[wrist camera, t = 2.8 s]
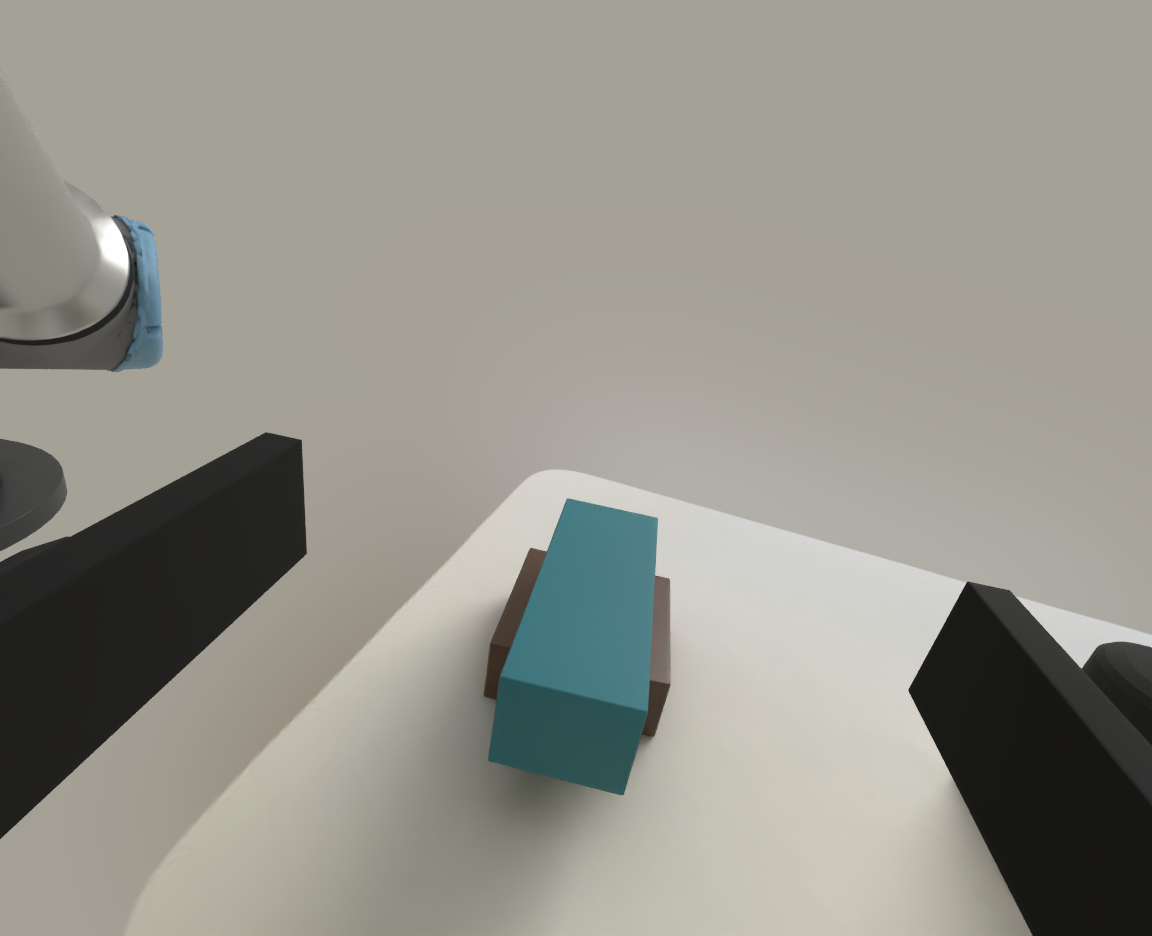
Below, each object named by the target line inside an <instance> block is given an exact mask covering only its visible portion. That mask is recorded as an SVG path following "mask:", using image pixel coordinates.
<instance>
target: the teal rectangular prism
mask: <svg viewBox="0 0 1152 936" xmlns="http://www.w3.org/2000/svg"><path fill="white" fill-rule="evenodd" d="M657 526H658V518H655V517H651V516H646V515H642V514H637V513H632V512H628V511H623V510H619V509H614V508H609V507H605V506H600V505H596V504H591V503H587V502H582V501H577V500H573V499H567V500H566V503H565V505H564V508H563V510H562V513H561V516H560V518H559V521H558V524H557V526H556V529H555V532H554V534H553V537H552V540H551V542H550V545H549V548H548V550H547V553H546V555H545V558H544V561H543V563H542V566H541V569H540V571H539V574H538V577H537V579H536V582H535V585H534V587H533V590H532V593H531V595H530V598H529V600H528V603H527V606H526V608H525V611H524V614H523V616H522V619H521V622H520V624H519V627H518V630H517V632H516V635H515V638H514V640H513V643H512V646H511V648H510V651H509V653H508V656H507V659H506V661H505V664H504V667H503V669H502V672H501V675H500V679H499V686H498V693H497V700H496V707H495V715H494V722H493V729H492V736H491V743H490V750H489V758H488V760H489V761H490V762H493V763H497V764H501V765H505V766H509V767H513V768H517V769H521V770H525V771H529V772H533V773H536V774H540V775H544V776H548V777H552V778H556V779H560V780H564V781H568V782H572V783H576V784H580V785H583V786H587V787H591V788H595V789H599V790H603V791H607V792H611V793H615V794H619V795H623V794H624V792H625V788H626V785H627V782H628V778H629V775H630V771H631V768H632V765H633V761H634V758H635V754H636V751H637V748H638V744H639V741H640V738H641V734H642V731H643V727H644V724H645V721H646V717H647V714H648V701H649V681H650V662H651V642H652V623H653V604H654V584H655V565H656V545H657Z"/></svg>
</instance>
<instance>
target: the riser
mask: <svg viewBox="0 0 1152 936" xmlns="http://www.w3.org/2000/svg"><path fill="white" fill-rule="evenodd" d="M546 553H547V552H546V551H542V550H537V549H533V548H530V550H529V552H528V554H527V557H526V559H525V561H524V564H523V566H522V569H521V571H520V573H519V576H518V578H517V581H516V583H515V585H514V588H513V590H512V592H511V595H510V597H509V600H508V602H507V604H506V607H505V609H504V612H503V614H502V616H501V619H500V621H499V623H498V626H497V628H496V631H495V633H494V635H493V638H492V640H491V643H490V649H489V657H488V665H487V673H486V681H485V689H484V696H487V697H492V698H496V699H497V693H498V686H499V679H500V675H501V672H502V669H503V667H504V664H505V661H506V659H507V656H508V653H509V651H510V648H511V646H512V643H513V640H514V638H515V635H516V632H517V630H518V627H519V624H520V622H521V619H522V616H523V614H524V611H525V608H526V606H527V603H528V600H529V598H530V595H531V593H532V590H533V587H534V585H535V582H536V579H537V577H538V574H539V571H540V569H541V566H542V563H543V561H544V558H545V555H546ZM669 688H670V579H668V578H664V577H659V576H655V584H654V604H653V623H652V642H651V662H650V681H649V701H648V714H647V717H646V721H645V724H644V727H643V731H642V734H645V735H649V736H655V733H656V730H657V727H658V723H659V720H660V717H661V714H662V710H663V707H664V704H665V701H666V698H667V694H668V691H669Z"/></svg>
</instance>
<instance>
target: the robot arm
mask: <svg viewBox="0 0 1152 936" xmlns="http://www.w3.org/2000/svg"><path fill="white" fill-rule="evenodd" d="M161 323H162V321H161V298H160V284H159V272H158V260H157V251H156V243H155V240H154V233H153V231H152V229H151V228H150V227H149V226H148V225H146V224H145V223H142V222H139V221H134V220H129V219H128V218H126V217H124V216H117V215H114V216H113V217H110V216H109V215H108V214H107V213H106V212H105V211H104V209H102V208H101V207H100V206H99V205H98V204H97V203H96V202H95V201H94V200H93V199H91V198H90V197H89V196H88V195H86V194H85V193H84V192H82V191H81V190H79V189H78V188H76V187H74V186H73V185H71V184H69V183H67V182H65V181H63V180H62V178H61V176H60V174H59V173H58V171H57V169H56V167H55V166H54V164H53V162H52V160H51V158H50V157H49V155H48V153H47V151H46V150H45V148H44V146H43V145H42V143H41V141H40V139H39V137H38V135H37V134H36V132H35V130H34V129H33V127H32V125H31V123H30V121H29V120H28V118H27V116H26V114H25V113H24V111H23V109H22V107H21V106H20V104H19V102H18V100H17V98H16V97H15V95H14V93H13V91H12V90H11V88H10V86H9V84H8V83H7V81H6V79H5V78H4V76H3V74H2V72H1V70H0V368H8V369H91V370H95V369H96V370H108V371H112V372H119V371H122V370H124V369H141V368H149V367H152V366H154V365H156V364H157V363H158V362H159V361H160V359H161V357H162V352H163V341H162V326H161ZM1 480H2V474H1V471H0V483H1ZM306 554H307V549H306V527H305V507H304V484H303V461H302V440H299V439H294V438H290V437H285V436H281V435H276V434H271V433H264V434H262V435H260V436H258V437H256V438H255V439H253V440H251V441H249V442H247V443H245V444H243V445H241V446H239V447H238V448H236V449H234V450H232V451H230V452H228V453H226V454H225V455H223V456H221V457H219V458H217V459H215V460H213V461H212V462H210V463H208V464H206V465H204V466H202V467H200V468H198V469H196V470H195V471H193V472H191V473H189V474H187V475H185V476H183V477H181V478H180V479H178V480H176V481H174V482H172V483H170V484H168V485H166V486H165V487H163V488H161V489H159V490H157V491H155V492H153V493H152V494H150V495H148V496H146V497H144V498H142V499H140V500H138V501H137V502H135V503H133V504H131V505H129V506H127V507H125V508H124V509H122V510H120V511H118V512H116V513H114V514H112V515H110V516H108V517H107V518H105V519H103V520H101V521H99V522H97V523H95V524H93V525H92V526H90V527H88V528H86V529H84V530H83V531H80V532H78V533H77V534H75V535H73V536H71V537H64V538H61V539H58V540H55V541H52V542H48V543H46V544H42V545H39V546H36V547H33V548H30V549H26V550H23V551H21V552H19V553H17V554H15V555H13V556H11V557H9V558H7V559H5V560H3V561H1V562H0V839H1V838H2V837H3V836H4V835H5V834H6V833H7V832H8V831H9V830H10V829H12V827H14V826H15V825H16V824H17V823H18V822H19V821H20V820H21V819H22V818H23V817H24V816H25V815H27V814H28V813H29V812H30V811H31V810H32V809H33V808H34V807H35V806H36V805H37V804H38V803H39V802H41V801H42V800H43V799H44V798H45V797H46V796H47V795H48V794H49V793H50V792H51V791H52V790H53V789H54V788H56V786H58V785H59V784H60V783H61V782H62V781H63V780H64V779H65V778H66V777H67V776H68V775H70V774H71V773H72V772H73V771H74V770H75V769H76V768H77V767H78V766H79V765H80V764H81V763H82V762H83V761H84V760H85V759H87V758H88V757H89V756H90V755H91V754H92V753H93V752H94V751H95V750H96V749H97V748H99V747H100V746H101V745H102V744H103V743H104V742H105V741H106V740H107V739H108V738H109V737H110V736H111V735H113V734H114V733H115V732H116V731H117V730H118V729H119V728H120V727H121V726H122V725H123V724H124V723H125V722H127V721H128V719H130V718H131V717H132V716H133V715H134V714H135V713H136V712H137V711H138V710H139V709H140V708H141V707H143V705H145V704H146V703H147V702H148V701H149V700H150V699H151V698H152V697H153V696H154V695H156V694H157V693H158V692H159V691H160V690H161V689H162V688H163V687H164V686H165V685H166V684H167V683H168V682H169V681H171V680H172V679H173V678H174V677H175V676H176V675H177V674H178V673H179V672H180V671H181V670H182V669H183V668H185V667H186V666H187V665H188V664H189V663H190V662H191V661H192V660H193V659H194V658H195V657H196V656H197V655H199V654H200V653H201V652H202V651H203V650H204V649H205V648H206V647H207V646H208V645H209V644H210V643H211V642H212V641H214V639H216V638H217V637H218V636H219V635H220V634H221V633H222V632H223V631H224V630H225V629H226V628H228V627H229V626H230V625H231V624H232V623H233V622H234V621H235V620H236V619H237V618H238V617H239V616H240V615H242V614H243V613H244V612H245V611H246V610H247V609H248V608H249V607H250V606H251V605H252V604H253V603H254V602H255V601H257V599H258V598H260V597H261V596H262V595H263V594H264V593H265V592H266V591H267V590H268V589H269V588H270V587H272V586H273V585H274V584H275V583H276V582H277V581H278V580H279V579H280V578H281V577H282V576H283V575H284V574H286V573H287V572H288V571H289V570H290V569H291V568H292V567H293V566H294V565H295V564H296V563H297V562H298V561H300V560H301V559H302V558H303V557H304V556H305V555H306ZM908 691H909V693H910V695H911V697H912V699H913V701H914V703H915V705H916V707H917V709H918V711H919V713H920V714H921V716H922V718H923V720H924V722H925V724H926V726H927V728H928V730H929V732H930V734H931V736H932V738H933V740H934V742H935V744H936V746H937V748H938V750H939V752H940V754H941V756H942V758H943V760H944V762H945V764H946V766H947V768H948V770H949V772H950V774H951V776H952V778H953V780H954V781H955V783H956V785H957V787H958V789H959V791H960V793H961V795H962V797H963V799H964V801H965V803H966V805H967V807H968V809H969V811H970V813H971V815H972V817H973V819H974V821H975V823H976V825H977V827H978V829H979V831H980V833H981V835H982V837H983V839H984V841H985V843H986V845H987V847H988V849H989V850H990V852H991V854H992V856H993V858H994V860H995V862H996V864H997V866H998V868H999V870H1000V872H1001V874H1002V876H1003V878H1004V880H1005V882H1006V884H1007V886H1008V888H1009V890H1010V892H1011V894H1012V896H1013V898H1014V900H1015V902H1016V904H1017V906H1018V908H1019V910H1020V912H1021V914H1022V916H1023V918H1024V919H1025V921H1026V923H1027V925H1028V927H1029V929H1030V931H1031V933H1032V935H1033V936H1152V746H1151V744H1150V743H1149V742H1148V741H1147V740H1146V739H1145V738H1144V737H1143V736H1142V735H1141V734H1140V732H1139V731H1138V730H1137V729H1136V728H1135V727H1134V726H1133V725H1132V724H1131V723H1130V722H1129V720H1128V719H1127V718H1126V717H1125V716H1124V715H1123V714H1122V713H1121V712H1120V711H1119V709H1118V708H1117V707H1116V706H1115V705H1114V704H1113V703H1112V702H1111V701H1110V700H1109V699H1108V697H1107V696H1106V695H1105V694H1104V693H1103V692H1102V691H1101V690H1100V689H1099V688H1098V687H1097V685H1096V684H1095V683H1094V682H1093V681H1092V680H1091V679H1090V678H1089V677H1088V676H1087V675H1086V673H1085V672H1084V671H1083V670H1082V669H1081V668H1080V667H1079V666H1078V665H1077V664H1076V662H1075V661H1074V660H1073V659H1072V658H1071V657H1070V656H1069V655H1068V654H1067V653H1066V652H1065V650H1064V649H1063V648H1062V647H1061V646H1060V645H1059V644H1058V643H1057V642H1056V641H1055V640H1054V638H1053V637H1052V636H1051V635H1050V634H1049V633H1048V632H1047V631H1046V630H1045V629H1044V628H1043V626H1042V625H1041V624H1040V623H1039V622H1038V621H1037V620H1036V619H1035V618H1034V617H1033V615H1032V614H1031V613H1030V612H1029V611H1028V610H1027V609H1026V608H1025V607H1024V606H1023V605H1022V603H1021V602H1020V601H1019V600H1018V599H1017V598H1016V597H1015V596H1014V595H1013V594H1012V593H1011V591H1009V590H1005V589H1000V588H995V587H991V586H986V585H981V584H977V583H972V582H967V583H966V585H965V587H964V589H963V590H962V592H961V594H960V596H959V598H958V600H957V601H956V603H955V605H954V607H953V609H952V611H951V612H950V614H949V616H948V618H947V620H946V622H945V624H944V625H943V627H942V629H941V631H940V633H939V635H938V636H937V638H936V640H935V642H934V644H933V646H932V647H931V649H930V651H929V653H928V655H927V657H926V658H925V660H924V662H923V664H922V666H921V668H920V669H919V671H918V673H917V675H916V677H915V679H914V680H913V682H912V684H911V686H910V688H909V690H908Z"/></svg>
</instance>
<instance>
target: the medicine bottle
mask: <svg viewBox="0 0 1152 936" xmlns="http://www.w3.org/2000/svg"><path fill="white" fill-rule="evenodd" d="M1082 670H1083V671H1084V672H1085V673H1086V675H1087V676H1088V677H1089V678H1090V679H1091V680H1092V681H1093V682H1094V683H1095V684H1096V685H1097V687H1098V688H1099V689H1100V690H1101V691H1102V692H1103V693H1104V694H1105V695H1106V696H1107V697H1108V699H1109V700H1110V701H1111V702H1112V703H1113V704H1114V705H1115V706H1116V707H1117V708H1118V709H1119V711H1120V712H1121V713H1122V714H1123V715H1124V716H1125V717H1126V718H1127V719H1128V720H1129V722H1130V723H1131V724H1132V725H1133V726H1134V727H1135V728H1136V729H1137V730H1138V731H1139V732H1140V734H1141V735H1142V736H1143V737H1144V738H1145V739H1146V740H1147V741H1148V742H1149V743H1150V744H1151V746H1152V648H1151V647H1147V646H1144V645H1140V644H1135V643H1129V642H1113V643H1107V644H1102V645H1100V646H1098V647H1097V648H1096V649H1095V651H1094V652H1093V654H1092V655H1091V656H1090V658H1089V659H1088V661H1087V662H1086V663H1085V665H1084V666H1083V668H1082Z"/></svg>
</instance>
